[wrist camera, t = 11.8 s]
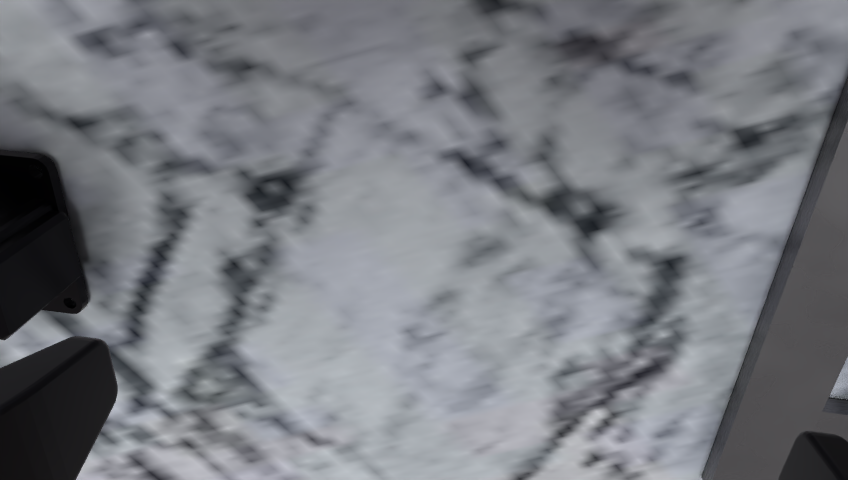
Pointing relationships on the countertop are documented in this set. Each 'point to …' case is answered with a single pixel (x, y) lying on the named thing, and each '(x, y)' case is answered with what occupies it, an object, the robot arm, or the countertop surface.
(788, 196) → the countertop surface
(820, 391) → the grey plate with hole
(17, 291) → the robot arm
